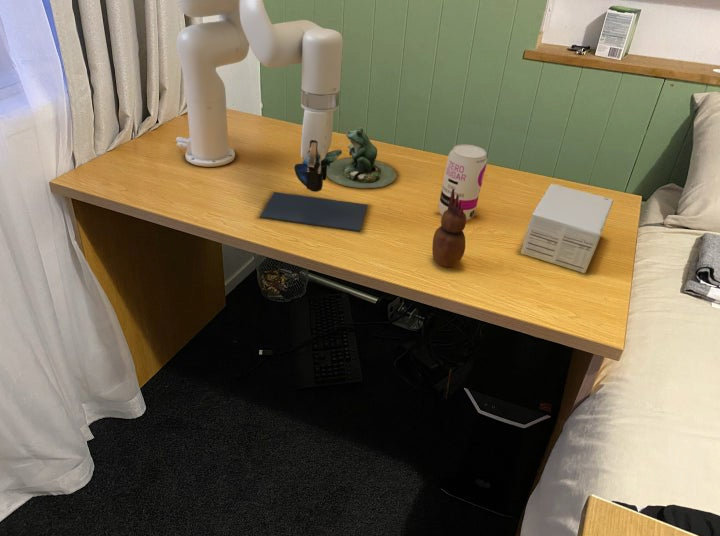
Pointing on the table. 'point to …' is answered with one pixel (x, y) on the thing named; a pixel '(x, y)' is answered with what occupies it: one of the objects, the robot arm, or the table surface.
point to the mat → (315, 211)
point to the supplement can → (463, 178)
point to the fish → (302, 168)
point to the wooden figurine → (450, 235)
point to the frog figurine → (360, 165)
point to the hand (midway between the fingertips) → (316, 183)
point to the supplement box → (566, 227)
